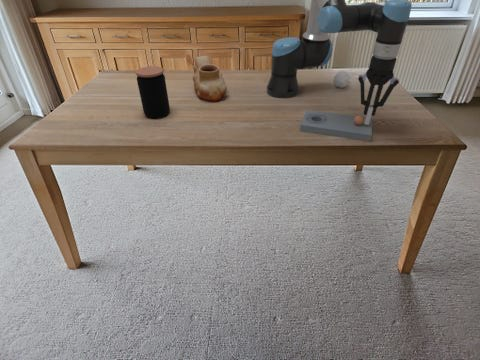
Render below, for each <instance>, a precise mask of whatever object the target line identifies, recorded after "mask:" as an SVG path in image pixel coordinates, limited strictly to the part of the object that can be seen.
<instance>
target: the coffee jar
mask: <svg viewBox="0 0 480 360" xmlns="http://www.w3.org/2000/svg"><path fill="white" fill-rule="evenodd" d="M134 74H135V75H136V81H137V87H138V92H139V96H140V100H141V105H142V109H143V110H142V111H143V114H144V115H145V117H147V118H149V119H151V120H152V119H153V120H157V119H163V118H165V117H167V116H168V115H169V114H170V111H171V108H170V101H169V95H168V90H167V83H166V76H165V74H164V68H163V67H161V66H154V65H153V66H152V65H151V66H144V67H139V68H137V69H136V70H135V73H134Z"/></svg>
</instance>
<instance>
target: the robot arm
mask: <svg viewBox="0 0 480 360" xmlns="http://www.w3.org/2000/svg"><path fill="white" fill-rule="evenodd" d="M412 7H413V5H412V2H411V1H410V0H386V1H385V2H384V5H383V4H379V3H376V2H373V1H370V2H368V1H364V2H362V3H361V4H347V3H346V0H311V1H310V8H309V15H308V19H307V20H308V22H307V28H306V31H305V32H304V33H303V34H302V38H301V39H302V40H301V39H300V38H298V37H295V36H294V37H293V36H292V37H283V38H280V39H277V40H275V41H274V43H273V44H272V50H271V70H270V71H271V72H270V78H269V81H268V83H267V85H266V93H267V95H269V96H271V97H274V98H279V99H287V98H294V97H296V96H297V95H299V91H300V87H299V83H298V76H297V75H298V74H297V73H298V70H299V69H309V68H311V69H312V68H318V67H322V66H325V65H326V64H327V63H329V61H330V59H331V58H332V55H333V42H332V41H331V39H330V35H329V34H337V33H346V32H360V31H362V32H363V31H370V32H371V31H372V32H375V33H376V38H375V42H374V47H373V50H372V56H371V59H370V63H369V66H368V69H367V70H366V72H365V73H364V74H359V75H358V77H357V78H358V82H359V84H360V104H361V105H364V109H363V115H364V117H365V122H364V124H366V125H369V122H370V118H372V116H373V117H375V115H376V111H377V109H378V108H379V107H381V108H382V107H384V105H385V103H386V102H387V100H388V98H389V97H390V95H391V93H392V91H393V90H394V88H396V86H397V85H398V84H399V83H400V81H399V78H396V77H395V76H394V74H395V73H394V69H395V66H396V63H397V57H398V55H399V53H400V48H401V45H402V41H403V38H404V34H405V32H406V28H407V25H408V22H409V20H410V16H411V15H410V14H411V10H412ZM366 80H368V82H369V84H370V86H369V88H368V89H369V90H368V93H367V97H366V96H365V95H366V94H365V91H366V90H365V82H366ZM389 81H390V82H389ZM388 82H389V85H388V86H387V88H386V90H385V92H384V93H383V96H382V97H381V95H382V90H383V88H384V86H385V85H386V84H387V83H388ZM375 86H377V90H376V94H375V96H374V101H373V104H371V101H372V99H373V94H374V89H375ZM365 97H366V100H365Z"/></svg>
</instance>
